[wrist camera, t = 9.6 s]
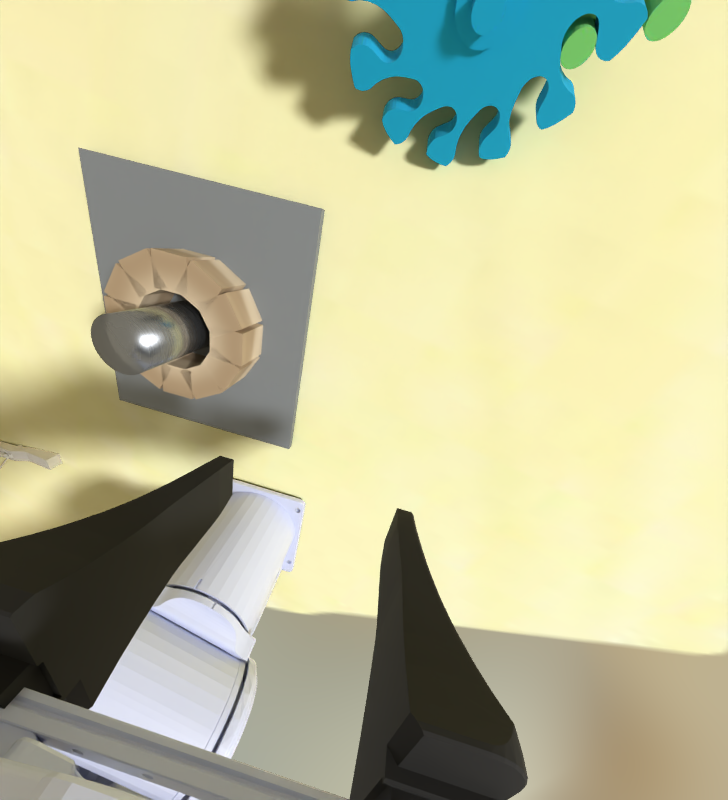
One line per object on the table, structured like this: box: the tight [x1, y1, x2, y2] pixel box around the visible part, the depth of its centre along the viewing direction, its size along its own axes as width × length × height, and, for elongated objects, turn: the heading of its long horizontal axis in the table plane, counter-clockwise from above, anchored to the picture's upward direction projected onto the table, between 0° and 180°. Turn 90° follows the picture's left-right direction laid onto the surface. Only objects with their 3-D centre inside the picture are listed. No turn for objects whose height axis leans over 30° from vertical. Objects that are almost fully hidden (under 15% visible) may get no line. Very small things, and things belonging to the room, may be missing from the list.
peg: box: [91, 300, 210, 375], centre depth 17 cm, size 3×3×6 cm
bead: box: [104, 248, 263, 399], centre depth 19 cm, size 8×8×2 cm
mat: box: [79, 148, 325, 449], centre depth 20 cm, size 16×14×1 cm
